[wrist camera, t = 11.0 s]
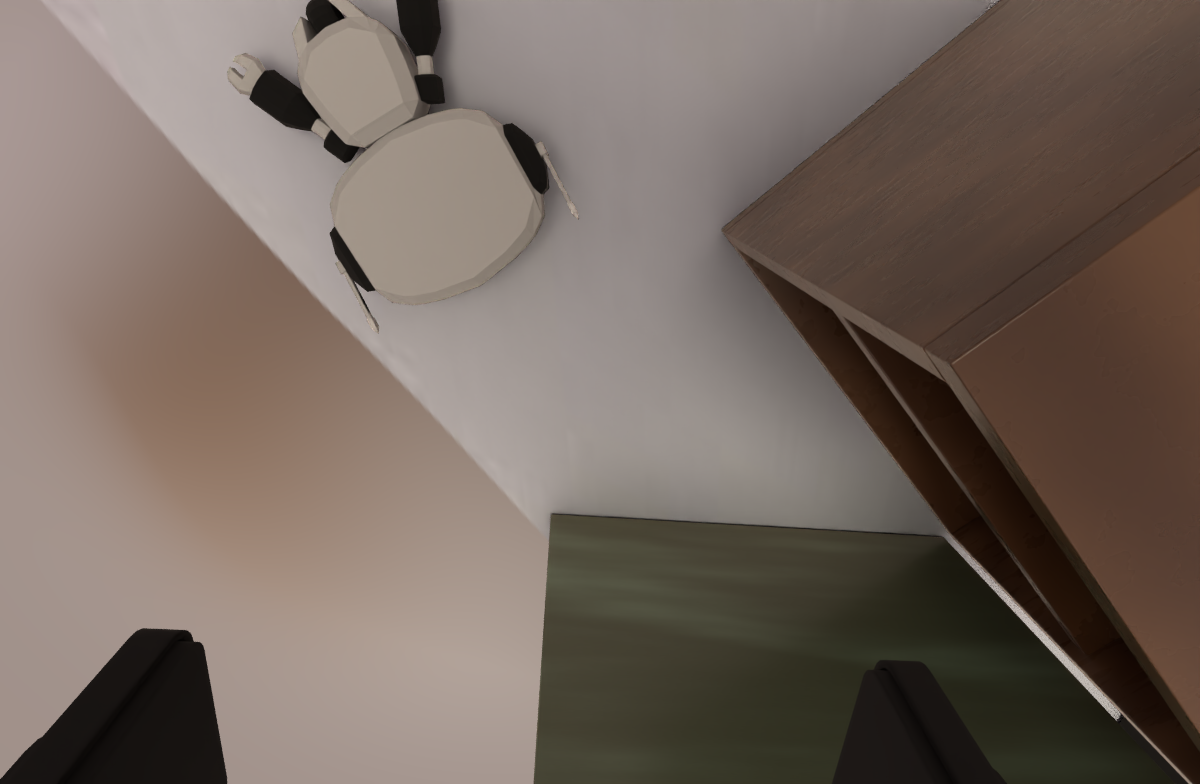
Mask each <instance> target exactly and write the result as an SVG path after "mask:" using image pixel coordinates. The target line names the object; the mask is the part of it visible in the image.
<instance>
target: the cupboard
mask: <svg viewBox="0 0 1200 784" xmlns="http://www.w3.org/2000/svg"><path fill="white" fill-rule="evenodd" d="M722 232H723V234H724V235H725V236H726V238H727V239H728V240H729V242H730V243H731V244H732V246H733V247H734V248H735V250H736V251H737V252H738V254H739V255H740V256H741V258H742V259H743V260H744V262H745V263H746V264H747V266H748V267H749V268H750V270H751V271H752V272H753V274H754V275H755V276H756V278H757V279H758V280H759V282H760V283H761V284H762V286H763V287H764V288H765V290H766V291H767V292H768V294H769V295H770V296H771V298H772V299H773V300H774V301H775V303H776V304H777V305H778V307H779V308H780V309H781V311H782V312H783V313H784V315H785V316H786V317H787V319H788V320H789V321H790V323H791V324H792V325H793V327H794V328H795V329H796V331H797V332H798V333H799V335H800V336H801V337H802V339H803V340H804V341H805V343H806V344H807V345H808V347H809V348H810V349H811V351H812V352H813V353H814V355H815V356H816V357H817V359H818V360H819V361H820V363H821V364H822V365H823V367H824V368H825V369H826V371H827V372H828V373H829V375H830V376H831V377H832V379H833V380H834V381H835V383H836V384H837V385H838V387H839V388H840V389H841V391H842V392H843V393H844V395H845V396H846V397H847V399H848V400H849V401H850V403H851V404H852V405H853V407H854V408H855V409H856V411H857V412H858V413H859V415H860V416H861V417H862V419H863V420H864V421H865V423H866V424H867V425H868V427H869V428H870V429H871V431H872V432H873V433H874V435H875V436H876V437H877V439H878V440H879V441H880V443H881V444H882V445H883V447H884V448H885V449H886V451H887V452H888V453H889V455H890V456H891V457H892V459H893V460H894V461H895V462H896V464H897V465H898V466H899V468H900V469H901V470H902V472H903V473H904V474H905V476H906V477H907V478H908V480H909V481H910V482H911V484H912V485H913V486H914V488H915V489H916V490H917V492H918V493H919V494H920V496H921V497H922V498H923V500H924V501H925V502H926V504H927V505H928V506H929V508H930V509H931V510H932V512H933V513H934V514H935V516H936V517H937V518H938V520H939V521H940V522H941V524H942V525H943V526H944V528H945V529H946V530H947V532H948V533H949V534H950V536H951V537H952V538H953V539H954V540H955V541H956V542H957V543H958V544H959V545H960V546H961V547H962V548H963V549H964V550H965V551H966V552H967V553H968V554H969V555H970V556H971V558H972V559H973V560H974V561H975V562H976V563H977V564H978V565H979V566H980V567H981V568H982V569H983V570H984V571H985V572H986V573H987V574H988V575H989V576H990V577H991V578H992V579H993V580H994V581H995V583H996V584H997V585H998V586H999V587H1000V588H1001V589H1002V590H1003V591H1004V592H1005V593H1006V594H1007V595H1008V596H1009V597H1010V598H1011V599H1012V600H1013V601H1014V602H1015V603H1016V604H1017V605H1018V606H1019V607H1020V609H1021V610H1022V611H1023V612H1024V613H1025V614H1026V615H1027V616H1028V617H1029V618H1030V619H1031V620H1032V621H1033V622H1034V623H1035V624H1036V625H1037V626H1038V627H1039V628H1040V629H1041V630H1042V631H1043V632H1044V634H1045V635H1046V636H1047V637H1048V638H1049V639H1050V640H1051V641H1052V642H1053V643H1054V644H1055V645H1056V646H1057V647H1058V648H1059V649H1060V650H1061V651H1062V652H1063V653H1064V654H1065V655H1066V656H1067V657H1068V659H1069V660H1070V661H1071V662H1072V663H1073V664H1074V665H1075V666H1076V667H1077V668H1078V669H1079V670H1080V671H1081V672H1082V673H1083V674H1084V675H1085V676H1086V677H1087V678H1088V679H1089V680H1090V681H1091V682H1092V683H1093V685H1094V686H1095V687H1096V688H1097V689H1098V690H1099V691H1100V692H1101V693H1102V694H1103V695H1104V696H1105V697H1106V698H1107V699H1108V700H1109V701H1110V702H1111V703H1112V704H1113V705H1114V706H1115V707H1116V708H1117V710H1118V711H1119V712H1120V713H1121V714H1122V715H1123V716H1124V717H1125V718H1126V719H1127V720H1128V721H1129V722H1130V723H1131V724H1132V725H1133V726H1134V727H1135V728H1136V729H1137V730H1138V731H1139V732H1140V733H1141V735H1142V736H1143V737H1144V738H1145V739H1146V740H1147V741H1148V742H1149V743H1150V744H1151V745H1152V746H1153V747H1154V748H1155V749H1156V750H1157V751H1158V752H1159V753H1160V754H1161V755H1162V756H1163V757H1164V758H1165V759H1166V761H1167V762H1168V763H1169V764H1170V765H1171V766H1172V767H1173V768H1174V769H1175V770H1176V771H1177V772H1178V773H1179V774H1180V775H1181V776H1182V777H1183V778H1184V779H1185V780H1186V781H1187V782H1188V783H1189V784H1200V0H1001V1H999V2H998V3H997V4H996V5H995V6H993V7H992V8H991V9H990V10H988V11H987V12H986V13H985V14H984V15H982V16H981V17H980V18H979V19H977V20H976V21H975V22H974V23H973V24H971V25H970V26H969V27H968V28H966V29H965V30H964V31H963V32H962V33H960V34H959V35H958V36H957V37H955V38H954V39H953V40H952V41H951V42H949V43H948V44H947V45H946V46H944V47H943V48H942V49H941V50H940V51H938V52H937V53H936V54H935V55H933V56H932V57H931V58H930V59H929V60H927V61H926V62H925V63H924V64H923V65H921V66H920V67H919V68H918V69H916V70H915V71H914V72H913V73H912V74H910V75H909V76H908V77H907V78H905V79H904V80H903V81H902V82H901V83H899V84H898V85H897V86H896V87H894V88H893V89H892V90H891V91H890V92H888V93H887V94H886V95H885V96H883V97H882V98H881V99H880V100H879V101H877V102H876V103H875V104H874V105H872V106H871V107H870V108H869V109H868V110H866V111H865V112H864V113H863V114H861V115H860V116H859V117H858V118H857V119H855V120H854V121H853V122H852V123H850V124H849V125H848V126H847V127H846V128H844V129H843V130H842V131H841V132H839V133H838V134H837V135H836V136H835V137H833V138H832V139H831V140H830V141H829V142H827V143H826V144H825V145H824V146H822V147H821V148H820V149H819V150H818V151H816V152H815V153H814V154H813V155H811V156H810V157H809V158H808V159H807V160H805V161H804V162H803V163H802V164H800V165H799V166H798V167H797V168H796V169H794V170H793V171H792V172H791V173H789V174H788V175H787V176H786V177H785V178H783V179H782V180H781V181H780V182H778V183H777V184H776V185H775V186H774V187H772V188H771V189H770V190H769V191H767V192H766V193H765V194H764V195H763V196H761V197H760V198H759V199H758V200H756V201H755V202H754V203H753V204H752V205H750V206H749V207H748V208H747V209H745V210H744V211H743V212H742V213H741V214H739V215H738V216H737V217H736V218H735V219H733V220H732V221H731V222H730V223H728V224H727V225H726V226H725V227H724V228H722Z"/></svg>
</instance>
